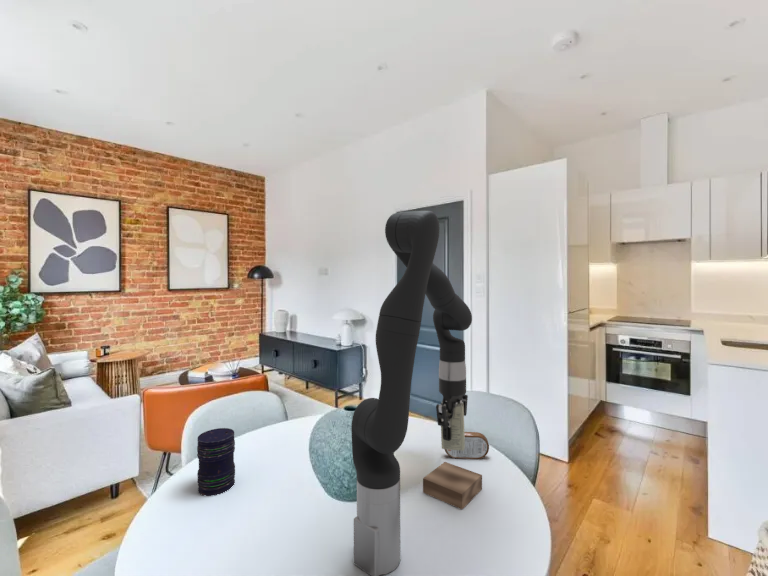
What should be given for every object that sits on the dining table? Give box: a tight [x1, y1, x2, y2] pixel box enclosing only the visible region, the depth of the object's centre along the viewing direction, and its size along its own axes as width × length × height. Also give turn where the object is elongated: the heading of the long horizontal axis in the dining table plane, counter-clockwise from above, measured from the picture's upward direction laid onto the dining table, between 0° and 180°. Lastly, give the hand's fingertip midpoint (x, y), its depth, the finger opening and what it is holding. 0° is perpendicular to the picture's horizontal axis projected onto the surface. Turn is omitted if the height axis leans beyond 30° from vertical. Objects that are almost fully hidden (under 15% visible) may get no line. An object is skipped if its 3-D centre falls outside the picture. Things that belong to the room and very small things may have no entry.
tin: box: [444, 431, 490, 460], centre depth 120 cm, size 15×3×8 cm, turn 86°
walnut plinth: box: [422, 461, 483, 510], centre depth 101 cm, size 12×12×4 cm
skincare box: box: [440, 402, 465, 451], centre depth 100 cm, size 6×4×12 cm
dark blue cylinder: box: [196, 427, 236, 497], centre depth 103 cm, size 10×10×15 cm
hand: (452, 435), depth 100 cm, fingers closed on skincare box, 5 cm apart
